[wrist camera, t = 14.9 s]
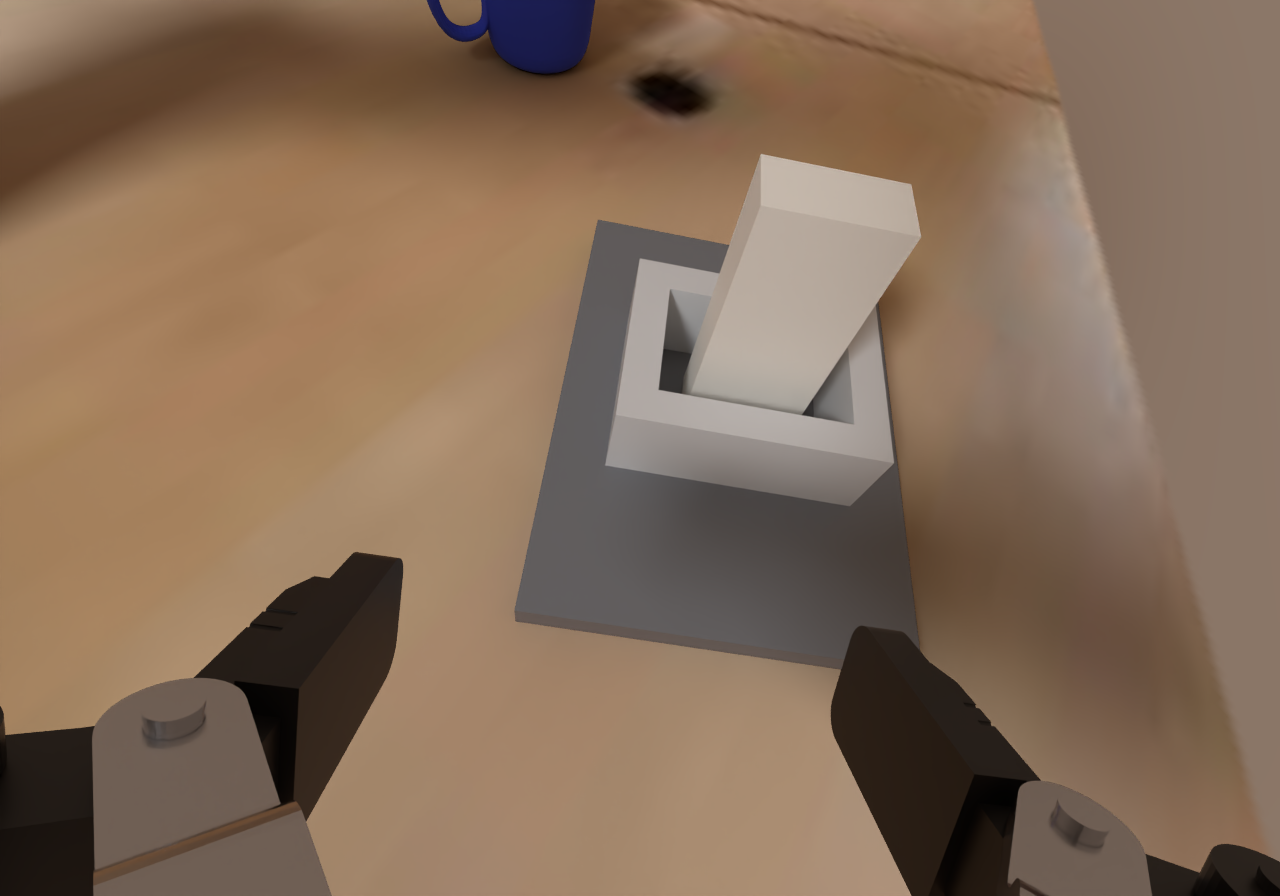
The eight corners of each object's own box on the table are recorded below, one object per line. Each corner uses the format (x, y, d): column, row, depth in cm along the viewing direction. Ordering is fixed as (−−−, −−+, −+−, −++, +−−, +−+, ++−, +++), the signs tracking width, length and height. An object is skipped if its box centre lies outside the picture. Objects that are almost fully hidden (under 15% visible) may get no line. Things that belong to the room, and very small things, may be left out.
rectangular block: (683, 378, 30) (760, 153, 20) (784, 396, 31) (911, 184, 20) (679, 422, 29) (760, 205, 19) (785, 439, 29) (921, 236, 19)
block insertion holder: (595, 240, 36) (605, 154, 32) (863, 292, 37) (910, 216, 33) (515, 620, 25) (511, 575, 20) (903, 678, 26) (985, 647, 21)
